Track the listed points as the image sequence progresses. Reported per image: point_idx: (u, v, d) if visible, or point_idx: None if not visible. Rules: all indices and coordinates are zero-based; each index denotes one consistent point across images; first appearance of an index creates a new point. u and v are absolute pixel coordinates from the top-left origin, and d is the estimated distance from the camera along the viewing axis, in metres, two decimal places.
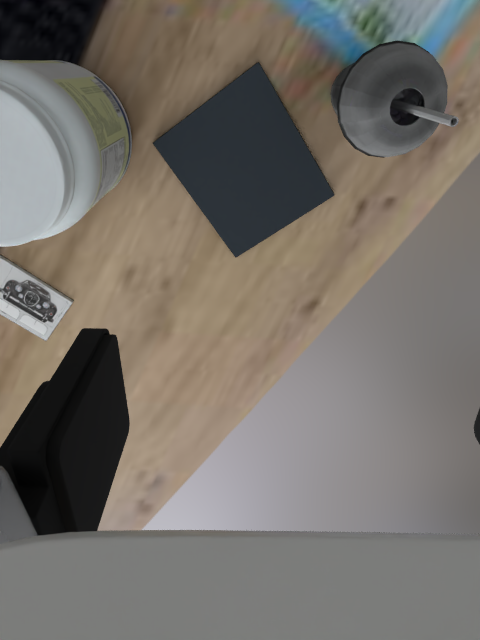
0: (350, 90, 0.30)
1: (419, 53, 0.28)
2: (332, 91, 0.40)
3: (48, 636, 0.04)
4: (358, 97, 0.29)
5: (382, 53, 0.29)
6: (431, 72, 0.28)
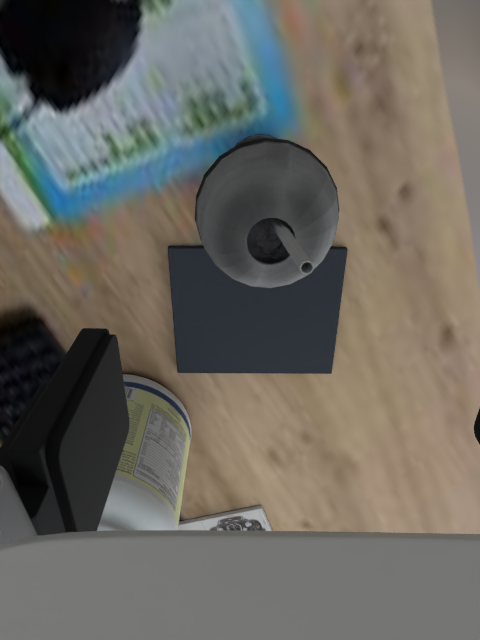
0: (217, 266, 0.23)
1: (227, 178, 0.20)
2: None
3: (48, 636, 0.04)
4: (227, 271, 0.22)
5: (200, 214, 0.21)
6: (253, 184, 0.19)
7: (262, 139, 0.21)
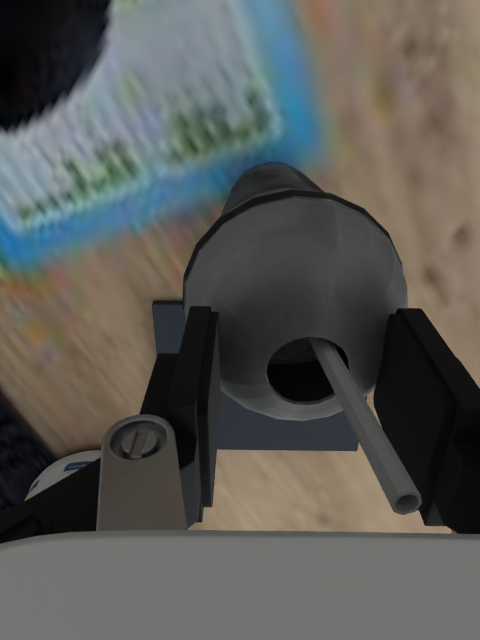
0: None
1: (233, 262, 0.12)
2: None
3: (48, 636, 0.04)
4: (233, 398, 0.14)
5: None
6: (279, 277, 0.11)
7: (289, 192, 0.13)
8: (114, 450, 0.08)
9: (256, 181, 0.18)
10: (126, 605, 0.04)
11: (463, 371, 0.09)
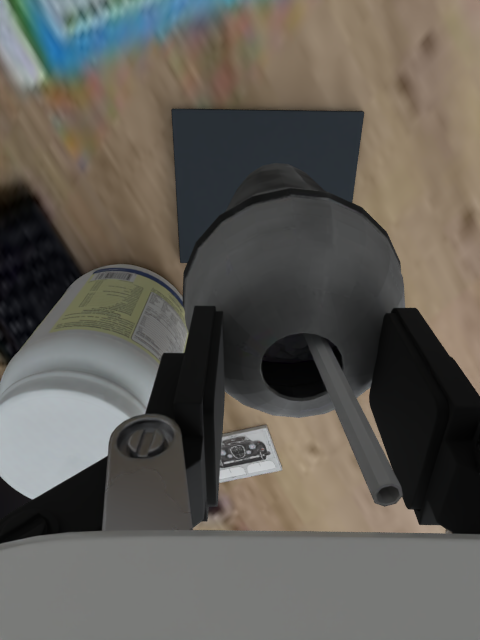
0: None
1: (229, 258, 0.12)
2: None
3: (48, 636, 0.04)
4: (230, 394, 0.14)
5: (187, 308, 0.14)
6: (273, 273, 0.11)
7: (287, 191, 0.13)
8: (121, 449, 0.08)
9: (259, 181, 0.19)
10: (126, 605, 0.04)
11: (457, 370, 0.09)
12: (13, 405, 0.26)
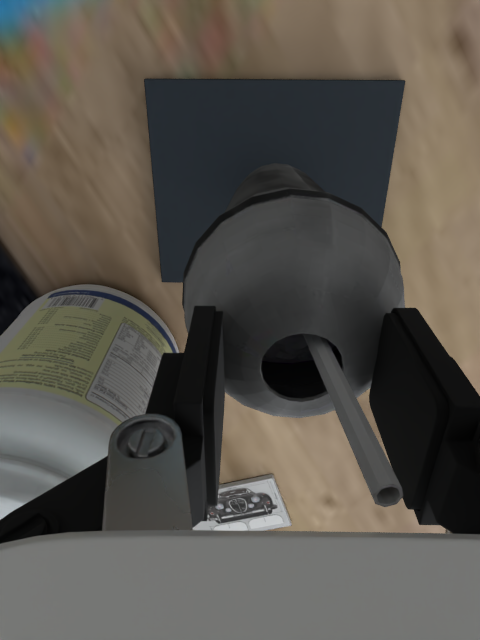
0: None
1: (229, 259, 0.12)
2: None
3: (48, 636, 0.04)
4: (230, 395, 0.14)
5: (187, 309, 0.14)
6: (273, 274, 0.11)
7: (286, 191, 0.13)
8: (121, 449, 0.08)
9: (258, 181, 0.19)
10: (126, 605, 0.04)
11: (457, 370, 0.09)
12: None
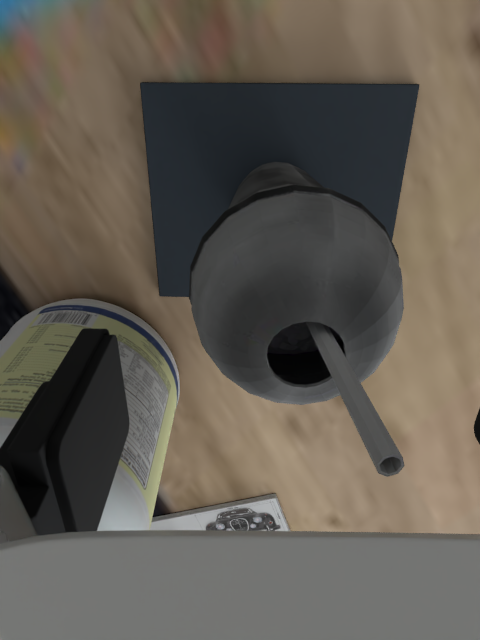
0: None
1: (236, 251, 0.13)
2: None
3: (48, 636, 0.04)
4: (236, 383, 0.15)
5: (195, 300, 0.14)
6: (278, 266, 0.12)
7: (290, 187, 0.14)
8: None
9: (260, 179, 0.19)
10: (126, 605, 0.04)
11: None
12: None
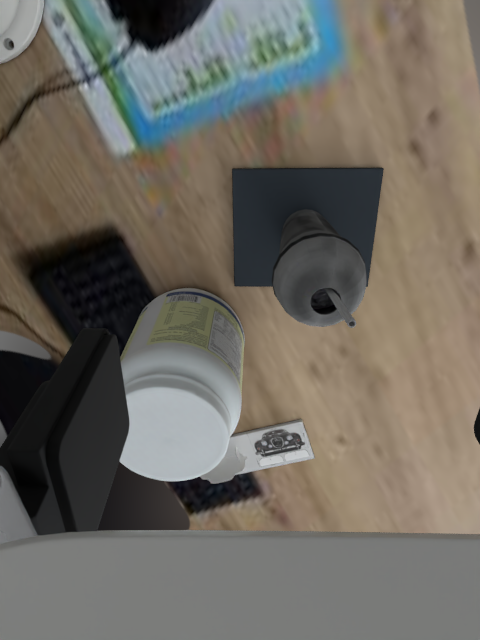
0: (287, 312, 0.35)
1: (297, 261, 0.32)
2: None
3: (48, 636, 0.04)
4: (295, 317, 0.34)
5: (278, 281, 0.34)
6: (314, 266, 0.31)
7: (317, 234, 0.33)
8: None
9: (300, 224, 0.39)
10: (126, 605, 0.04)
11: None
12: (129, 399, 0.35)
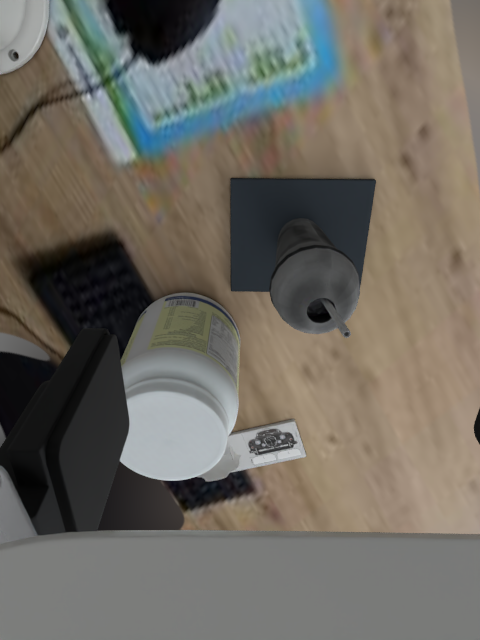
0: (284, 320, 0.36)
1: (294, 272, 0.34)
2: None
3: (48, 636, 0.04)
4: (291, 325, 0.36)
5: (275, 291, 0.35)
6: (311, 277, 0.33)
7: (314, 246, 0.35)
8: None
9: (296, 234, 0.40)
10: (126, 605, 0.04)
11: None
12: (132, 402, 0.37)
